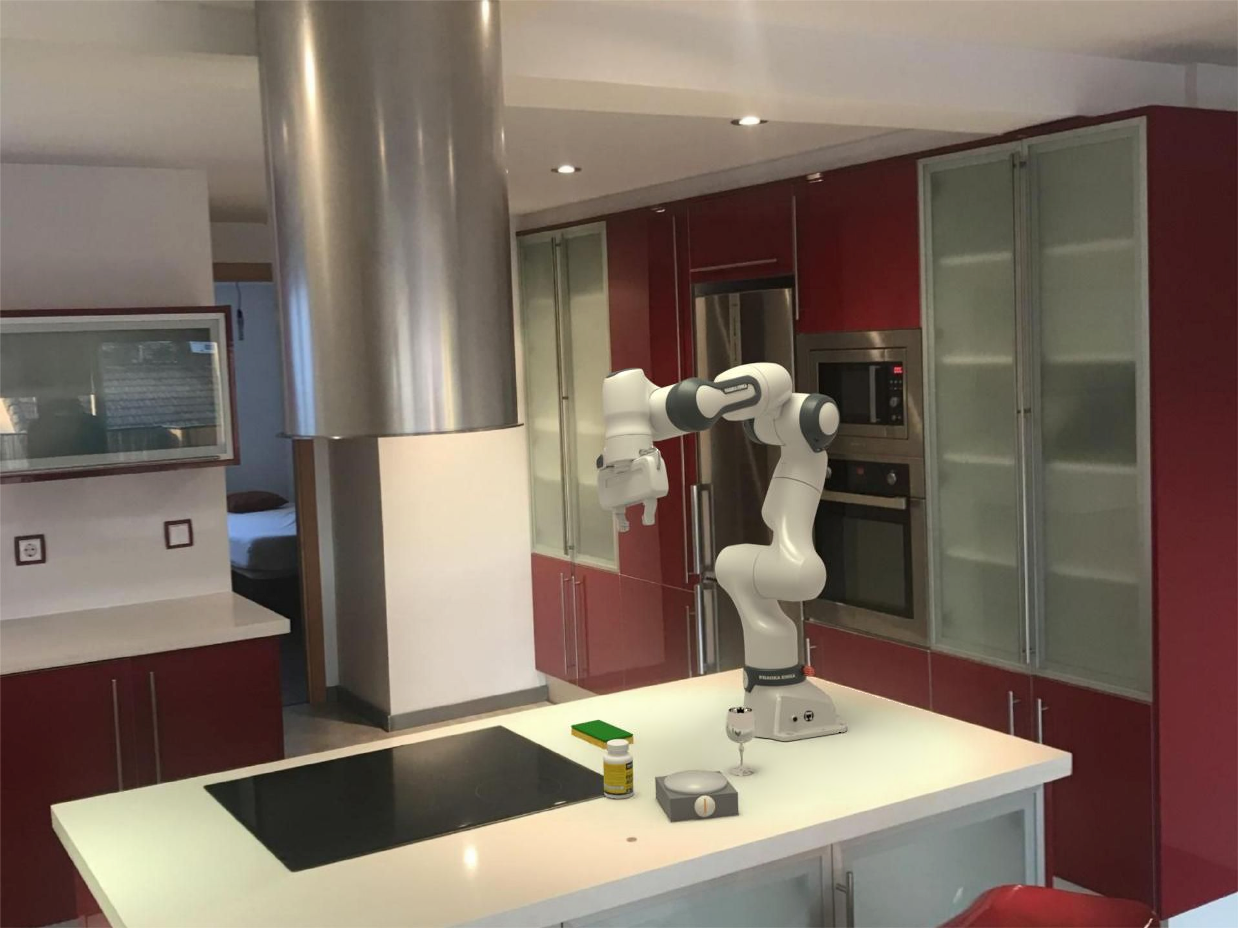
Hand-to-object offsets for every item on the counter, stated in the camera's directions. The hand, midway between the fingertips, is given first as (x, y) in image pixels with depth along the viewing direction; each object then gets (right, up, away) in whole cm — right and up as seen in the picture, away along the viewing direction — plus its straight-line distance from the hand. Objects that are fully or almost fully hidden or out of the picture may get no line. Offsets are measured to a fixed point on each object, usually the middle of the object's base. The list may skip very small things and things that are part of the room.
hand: (635, 528), depth 239 cm
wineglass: (+20, -47, +8) cm, 52 cm away
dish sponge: (-7, -46, +32) cm, 57 cm away
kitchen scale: (+11, -49, -10) cm, 51 cm away
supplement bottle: (-3, -49, -2) cm, 49 cm away
